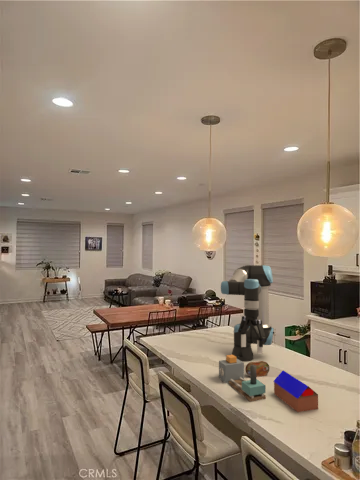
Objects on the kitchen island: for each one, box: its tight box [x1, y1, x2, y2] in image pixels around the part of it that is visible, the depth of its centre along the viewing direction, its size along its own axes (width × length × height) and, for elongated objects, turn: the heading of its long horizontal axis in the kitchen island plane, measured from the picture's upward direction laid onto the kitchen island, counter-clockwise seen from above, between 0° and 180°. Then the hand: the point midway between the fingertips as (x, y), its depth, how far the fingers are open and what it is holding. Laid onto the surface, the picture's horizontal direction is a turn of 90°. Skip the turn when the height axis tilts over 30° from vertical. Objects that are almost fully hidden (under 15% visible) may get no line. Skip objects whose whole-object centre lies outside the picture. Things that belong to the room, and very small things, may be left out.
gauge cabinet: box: [218, 359, 245, 384], centre depth 183 cm, size 12×8×10 cm, turn 110°
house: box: [273, 370, 319, 413], centre depth 157 cm, size 12×20×12 cm, turn 16°
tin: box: [244, 360, 270, 378], centre depth 188 cm, size 15×3×8 cm, turn 105°
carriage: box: [242, 365, 267, 396], centre depth 162 cm, size 8×9×13 cm
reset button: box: [225, 354, 237, 363], centre depth 183 cm, size 4×4×3 cm
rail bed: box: [228, 377, 267, 403], centre depth 168 cm, size 22×9×2 cm, turn 20°
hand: (251, 350), depth 164 cm, fingers open, 13 cm apart
